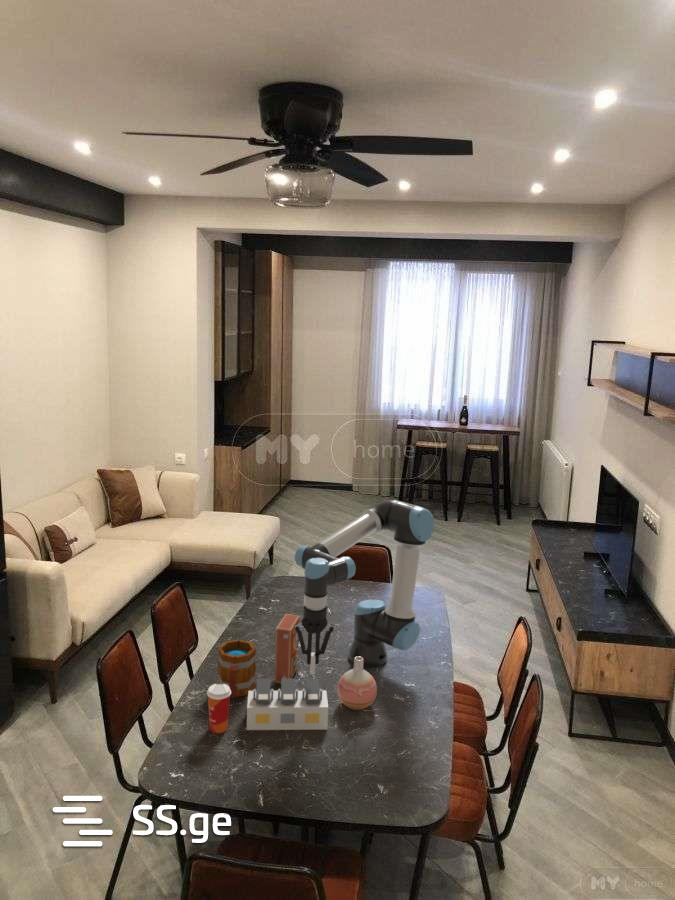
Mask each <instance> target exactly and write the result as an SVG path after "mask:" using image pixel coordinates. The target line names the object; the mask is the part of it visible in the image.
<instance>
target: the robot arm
mask: <svg viewBox="0 0 675 900" xmlns="http://www.w3.org/2000/svg"><path fill="white" fill-rule="evenodd" d="M434 529H435V518H434V515H433V514H432V513H431V511H430V510H429V509H427V508H425V507H422V506H421V505H417V504H412V503H408V502H405V501H401V500H397V499H389V500H388V499H387V500H384V501H381V502H378V503H376V504H374V505H371V506H369V507H367V508H366V509H364V510H363V511H362V513H361V515H360V516H358V517H357V518H355V519H354V520H352V521H351V522H349V523H347V524H345V525H344V526H342V527H341V528H339V529H337V530H336V531H335V532H333V533H332V534H330V535H328V536H327V537H324V538H323V539H322V540H321V541H319V542H317V543H316V544H313V546H309V545H301V546H299V547H298V548H297V549H296V551H295V553H294V562H295V564H296V565H297V566H299V568H301V569H303V570H304V587H303V588H304V589H303V590H304V591H303V610H302V611H303V614H302V616H303V618H302V619H301V621H300V622H299V624H295V630H296V632H297V633H298V636H299V645H300V649H301V653H302V654H303V655H306V664H307V665H309V674H310V675H315V674H316V665H318V664H319V663H320V660H319V659H320V656H321V655H324V654H325V653H326V650H327V646H328V642H329V640H330V638H331V634H332V632H333V631H334V630H335V629H334V624H331V623H329V622H328V619H327V611H328V608H327V605H328V589H329V586H332V585H334V584H338V583H341V582H345V581H347V580H349V579H352V577H354V576H355V574H356V570H357V567H356V564H355V561H354V560H353V559H352V558H351V557H350V556H348V555H347V556H340V557H337V556H339V555H341V554H342V553H344V552H346V551H347V550H349V549H350V548H352V547H353V546H354V545H356V544H358V543H359V542H361V541H362V540H364V539H366V537H369V536H370V535H371V534H377V533H379V532H381V531H384V530H385V531H386V530H387V531H389V532H390V531H391V532H393V533H394V535H393V541H395V544H396V549H395V550H396V551H395V559H394V565H393V566H394V567H393V575H392V582H391V590H390V596H389V597H390V598H389V605H388V606H387V604H386V602H385V601H383V600H380V599H366V600H365V599H364V600H362V601H360V602H358V603H356V606H355V612H354V624H353V625H354V627H353V629H354V630H353V632H354V633H353V639H352V642H351V645H350V647H349V649H348V657H347V658H348V659H349V661H351V662H352V664H354V658H355V657H358V656H359V657H362V658H363V668H375V667H380V666H383V665H384V664H385V663H387V661H388V652H387V651H388V650H387V648H386V644H387V645H389V646H390V647H392V648H393V649H397V650H400V651H407V650H409V649H411V648H412V647H413V646H414V644H415V643H416V642H417V641H418V638H419V637H420V632H421V626H420V624H419V623H418V622H417V621H416V611H414V610H413V606H414V605H413V604H414V598H415V590H416V583H417V575H418V568H419V561H420V555H421V553H420V552H421V548H423V546H424V545H426V542H427V541H429V540H430V539H431V538H432V535H433V533H434V532H435V531H434ZM303 628H304V630H305V631H306V632H307V647H306V644H305V640H304V635H303ZM324 630H325V633H324V637H323V639H322V643H321V642H320V641H321V633H322V632H323V631H324ZM313 634H315V642H314V645H315V647H314V650H315V651H314V652H312V644H313ZM320 643H321V646H320Z"/></svg>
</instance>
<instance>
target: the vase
mask: <svg viewBox="0 0 675 900" xmlns="http://www.w3.org/2000/svg"><path fill="white" fill-rule="evenodd" d="M377 694H378V687H377V682H376V680H375V678H374V677H373V675H372V674H370V672H368V671H367V670H366V669H364V667H363V658H362V657H359V656H358V657H355V658H354V663H353V668H351V669H349V670H348V671H345V673H343V675H341V677H340V679H339V680H338V683H337V696H338V698H339V701H341V703H342V704H343V705H344V706H346V707H347V708H348V709H350V710H353V711H362V710H364V709H366V708H368V707H370V706H371V705H372V704H373V703H374V701H375V700H376V698H377Z"/></svg>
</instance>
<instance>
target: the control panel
mask: <svg viewBox="0 0 675 900" xmlns="http://www.w3.org/2000/svg"><path fill="white" fill-rule="evenodd" d="M295 624H300V615H297V614H291V613H290V614H289V613H285V614H284V616H283V617H282V619H281V620H280V622H279V623H278V625H277V626H276V628H275V629H274V652H273V653H274V654H275V660H274V661H275V665H274V666H275V667H274V668H275V669H274V683H276V684H281V679H294V678H293V677H294V676H295V673H296V671H298V668H299V650H300V649H299V645H300V641H299V636H298V633H297V632H296V630H295Z"/></svg>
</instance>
